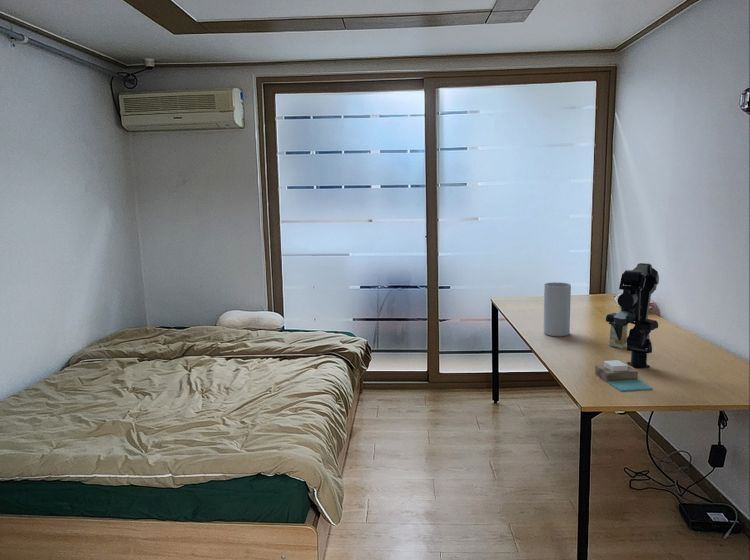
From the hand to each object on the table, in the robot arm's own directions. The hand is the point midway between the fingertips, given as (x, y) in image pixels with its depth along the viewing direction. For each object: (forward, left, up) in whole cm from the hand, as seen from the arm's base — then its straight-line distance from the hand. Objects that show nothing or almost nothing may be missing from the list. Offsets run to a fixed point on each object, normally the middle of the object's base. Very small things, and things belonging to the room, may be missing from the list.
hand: (630, 342), depth 227 cm
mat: (+11, -6, -13) cm, 18 cm away
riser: (0, -6, -13) cm, 14 cm away
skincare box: (-40, +16, -14) cm, 45 cm away
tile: (0, -6, -10) cm, 11 cm away
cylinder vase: (-66, -2, -14) cm, 68 cm away
